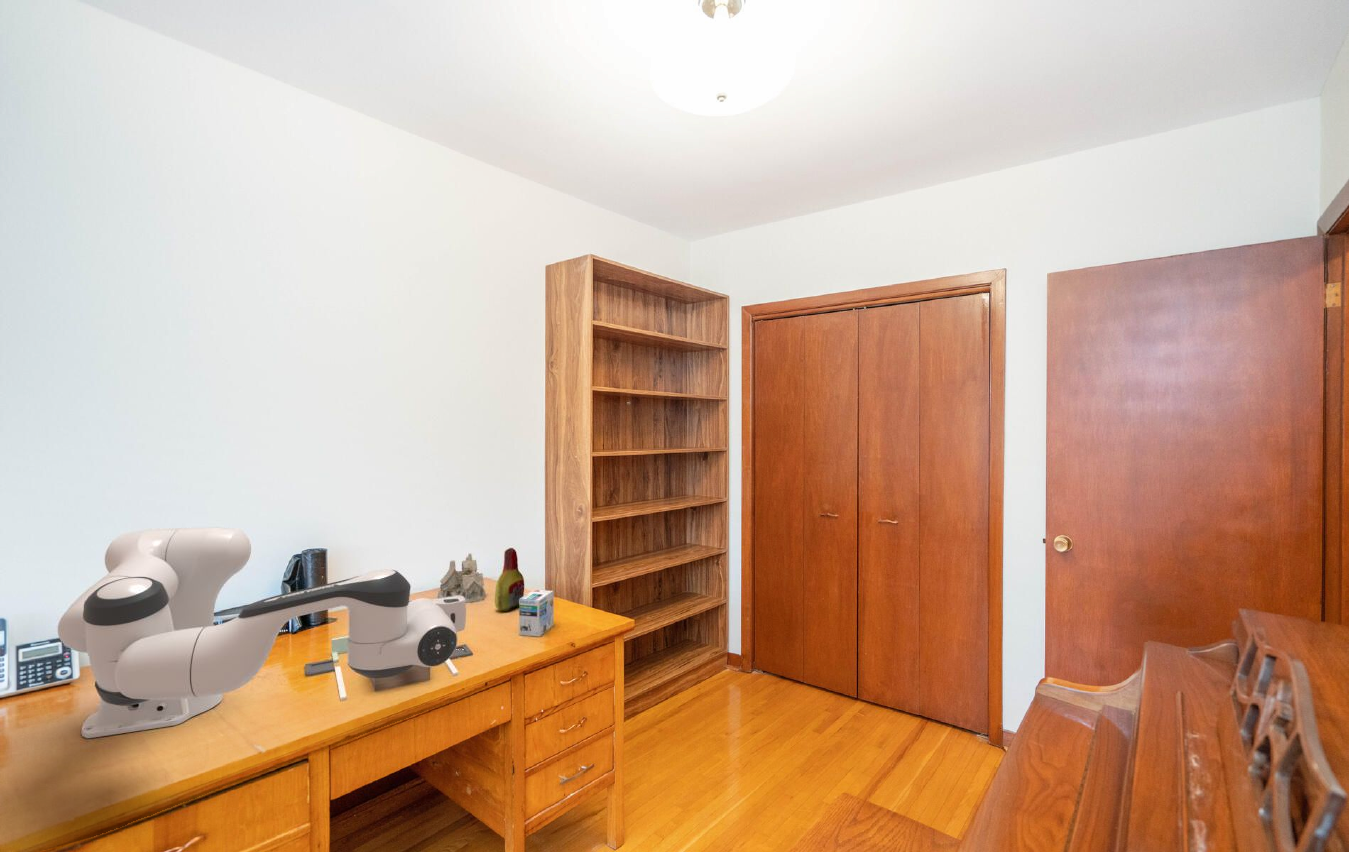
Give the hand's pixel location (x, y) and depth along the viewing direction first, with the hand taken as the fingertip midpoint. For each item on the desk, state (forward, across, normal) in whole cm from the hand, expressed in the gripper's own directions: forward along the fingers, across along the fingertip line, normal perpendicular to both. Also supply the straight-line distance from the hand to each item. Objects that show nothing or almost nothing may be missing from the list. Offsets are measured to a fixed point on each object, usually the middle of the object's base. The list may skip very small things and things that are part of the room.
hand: (409, 604), depth 131 cm
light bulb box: (+30, +40, -22) cm, 55 cm away
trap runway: (+26, 0, -22) cm, 34 cm away
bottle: (+55, +40, -22) cm, 72 cm away
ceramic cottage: (+77, +29, -22) cm, 85 cm away
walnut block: (+17, 0, -22) cm, 28 cm away
